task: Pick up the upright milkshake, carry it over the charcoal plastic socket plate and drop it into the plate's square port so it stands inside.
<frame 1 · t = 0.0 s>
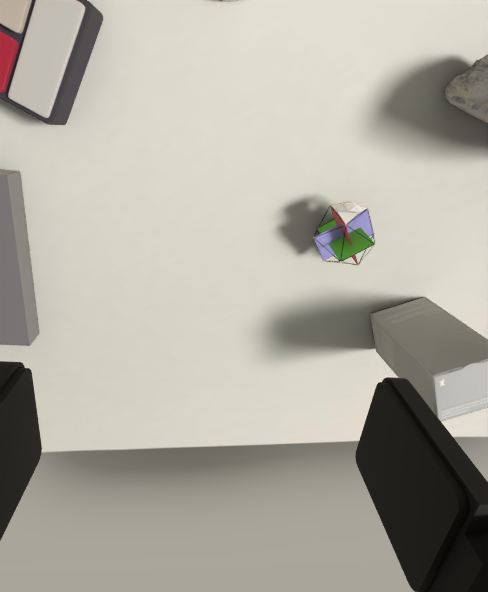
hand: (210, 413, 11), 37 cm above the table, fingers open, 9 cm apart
skincare box: (400, 320, 54), on the table
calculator: (6, 28, 37), on the table
geometric puzzle: (335, 228, 47), on the table
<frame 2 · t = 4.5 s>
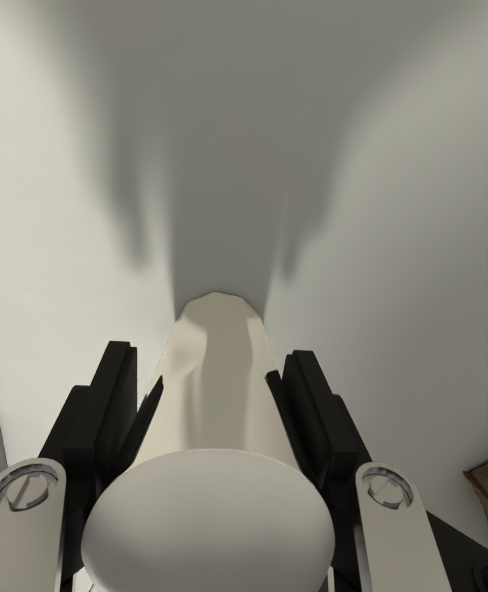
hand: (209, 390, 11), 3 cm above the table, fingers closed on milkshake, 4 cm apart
milkshake: (209, 332, 15), on the table, touching gripper
when the fingers open (8 cm above the table, at t = 9.9 s): milkshake drops 4 cm, resting on socket plate.
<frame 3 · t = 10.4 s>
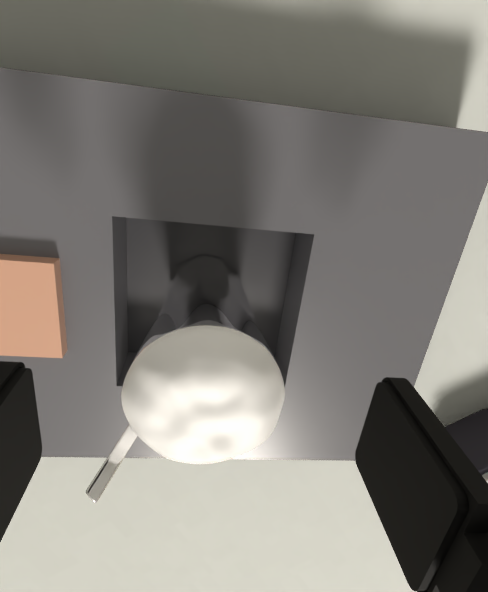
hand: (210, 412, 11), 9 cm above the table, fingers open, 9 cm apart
socket plate: (208, 286, 19), on the table
milkshake: (197, 288, 18), resting on socket plate
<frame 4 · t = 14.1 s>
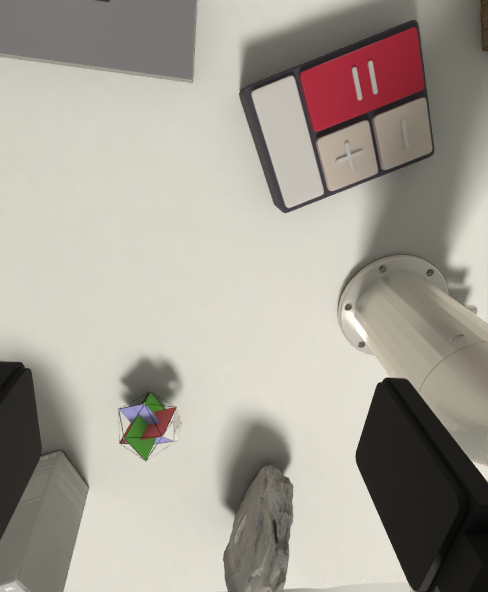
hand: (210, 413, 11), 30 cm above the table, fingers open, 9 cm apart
skincare box: (58, 474, 51), on the table
decorative rock: (254, 494, 57), on the table
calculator: (332, 123, 37), on the table
geometric puzzle: (151, 405, 48), on the table
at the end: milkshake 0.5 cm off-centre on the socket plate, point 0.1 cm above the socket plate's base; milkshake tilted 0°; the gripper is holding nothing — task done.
